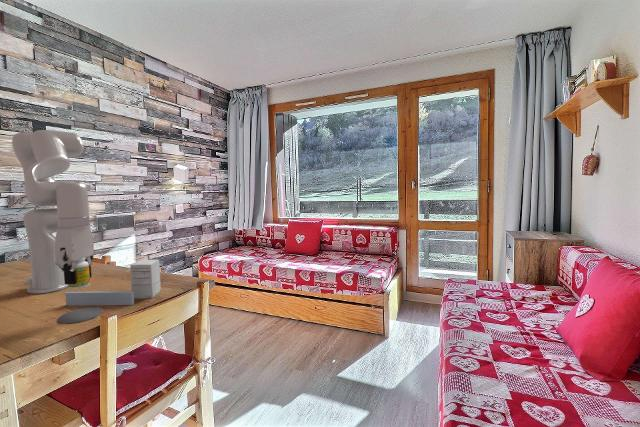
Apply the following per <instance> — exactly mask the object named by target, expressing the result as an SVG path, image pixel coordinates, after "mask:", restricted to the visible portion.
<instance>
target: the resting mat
mask: <svg viewBox="0 0 640 427" xmlns="http://www.w3.org/2000/svg"><path fill="white" fill-rule="evenodd" d="M102 313H103V309H102V308H101V307H93V306H92V307H85V308H84V307H83V308H78V309H75V310H70V311H68V312H66V313H63V314H62V315H59V317H58V318H57V321H59V322H58V323H60V324H64V323H70V324H78V323H82V321H83V322H86V321H89V320H93V319H95V318H97V317H99V316H100V315H102ZM77 322H78V323H77Z"/></svg>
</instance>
